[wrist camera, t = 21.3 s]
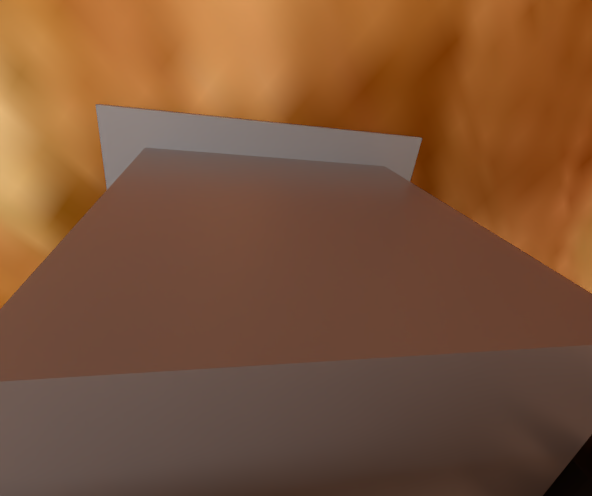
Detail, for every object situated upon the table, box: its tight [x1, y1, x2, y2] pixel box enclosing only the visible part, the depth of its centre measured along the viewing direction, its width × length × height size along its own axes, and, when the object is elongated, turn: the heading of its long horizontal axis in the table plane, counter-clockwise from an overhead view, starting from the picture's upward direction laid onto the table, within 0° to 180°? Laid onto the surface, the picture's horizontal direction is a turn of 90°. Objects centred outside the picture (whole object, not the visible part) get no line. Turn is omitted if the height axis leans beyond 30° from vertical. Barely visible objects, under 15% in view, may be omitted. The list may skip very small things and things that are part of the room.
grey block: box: [0, 148, 592, 496], centre depth 9 cm, size 8×8×9 cm
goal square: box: [96, 104, 422, 189], centre depth 13 cm, size 10×10×1 cm
